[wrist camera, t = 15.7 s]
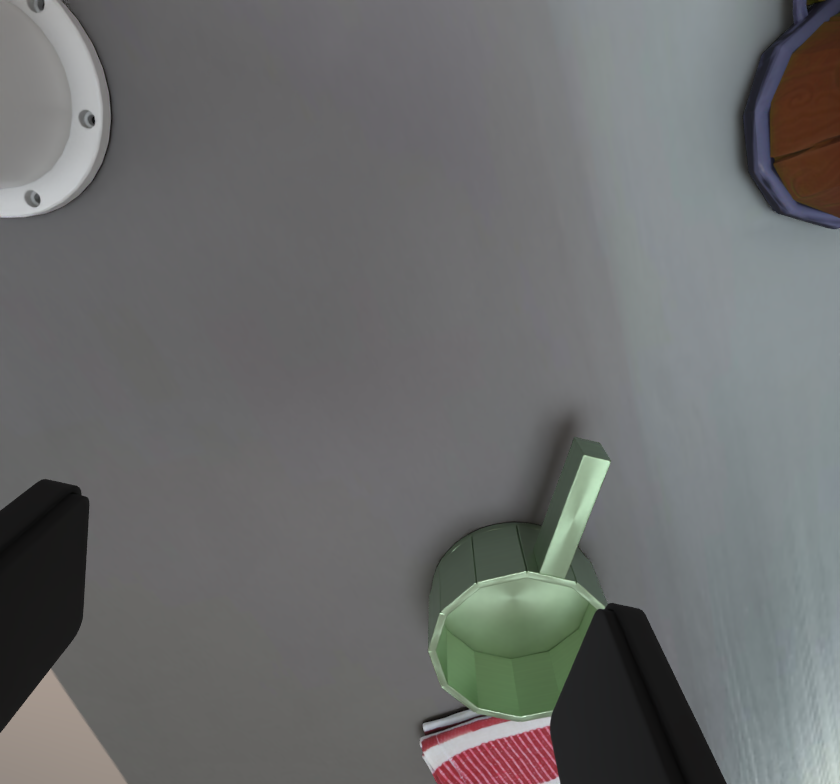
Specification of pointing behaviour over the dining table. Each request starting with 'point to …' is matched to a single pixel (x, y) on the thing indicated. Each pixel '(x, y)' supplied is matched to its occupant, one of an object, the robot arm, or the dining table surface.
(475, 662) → the green saucepan
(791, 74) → the mug
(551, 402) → the dining table surface
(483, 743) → the dish towel
